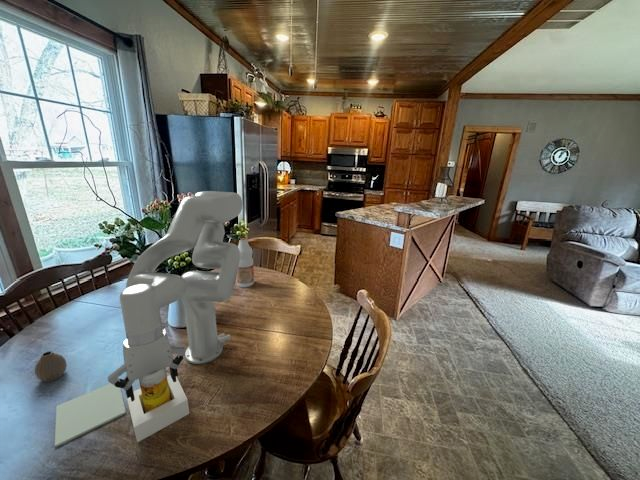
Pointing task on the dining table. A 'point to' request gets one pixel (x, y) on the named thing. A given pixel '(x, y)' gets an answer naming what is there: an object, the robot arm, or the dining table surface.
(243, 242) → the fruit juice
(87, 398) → the mat
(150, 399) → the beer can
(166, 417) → the sleeve
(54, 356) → the vase
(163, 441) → the dining table surface
